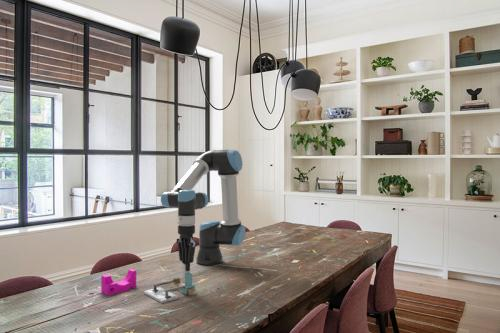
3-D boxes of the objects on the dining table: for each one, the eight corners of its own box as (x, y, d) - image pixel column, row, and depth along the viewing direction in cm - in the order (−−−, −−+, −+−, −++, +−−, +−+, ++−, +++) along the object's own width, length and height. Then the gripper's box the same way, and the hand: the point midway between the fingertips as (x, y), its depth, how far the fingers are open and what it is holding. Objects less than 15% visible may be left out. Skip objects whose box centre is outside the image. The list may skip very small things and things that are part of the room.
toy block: (107, 295, 166) (107, 278, 166) (101, 292, 170) (101, 275, 170) (139, 287, 176) (139, 271, 176) (132, 284, 181) (132, 268, 181)
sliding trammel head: (191, 290, 171) (191, 271, 171) (195, 292, 169) (195, 273, 169) (163, 297, 162) (163, 277, 162) (167, 299, 160) (167, 279, 160)
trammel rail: (176, 285, 179) (176, 276, 179) (195, 294, 167) (195, 284, 167) (150, 291, 170) (150, 281, 170) (169, 301, 158) (169, 290, 158)
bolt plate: (159, 289, 173) (159, 286, 173) (178, 299, 161) (178, 295, 161) (143, 293, 168) (143, 290, 168) (161, 303, 156) (161, 300, 156)
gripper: (171, 223, 172) (171, 276, 172) (187, 227, 162) (187, 282, 162) (185, 222, 177) (185, 273, 177) (201, 225, 167) (201, 279, 167)
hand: (186, 277), depth 170 cm, fingers closed
